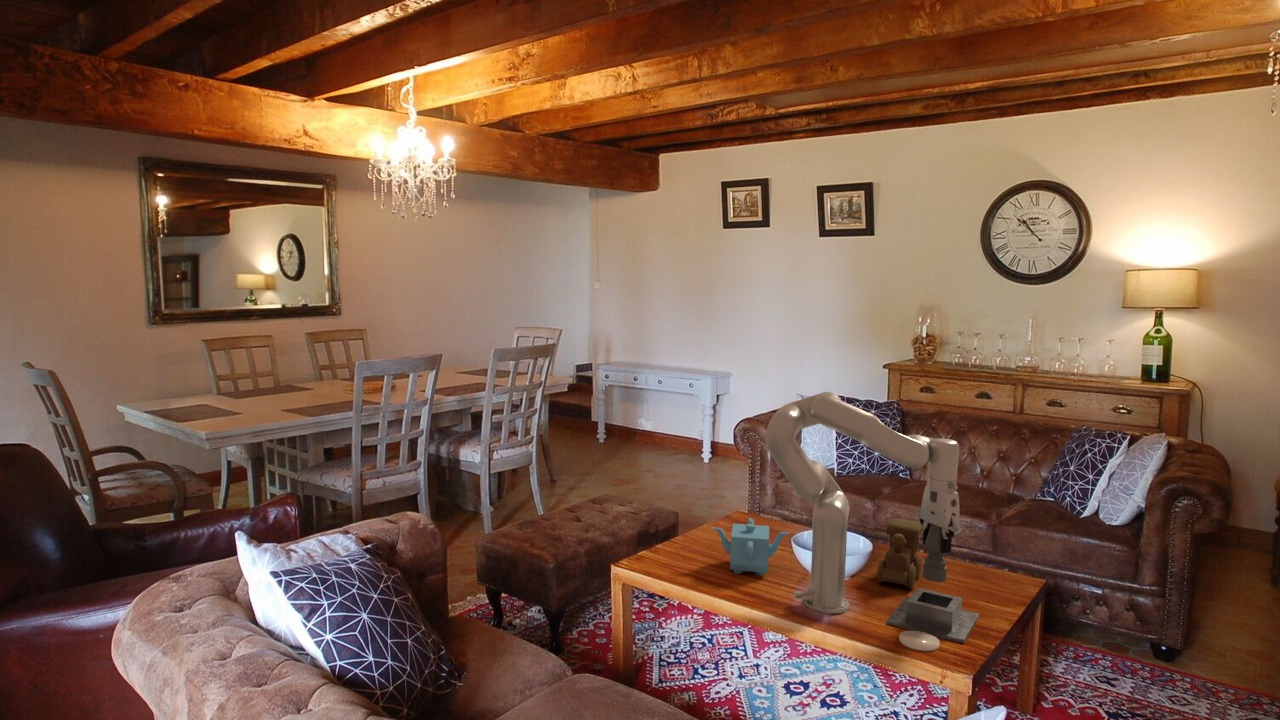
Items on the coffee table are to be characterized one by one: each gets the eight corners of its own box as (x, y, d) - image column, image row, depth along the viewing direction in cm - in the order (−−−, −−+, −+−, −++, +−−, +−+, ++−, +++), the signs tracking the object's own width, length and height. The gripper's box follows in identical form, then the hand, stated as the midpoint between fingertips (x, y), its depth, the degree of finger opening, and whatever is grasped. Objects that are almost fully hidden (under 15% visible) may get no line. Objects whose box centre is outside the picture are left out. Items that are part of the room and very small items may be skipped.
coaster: (910, 652, 200) (910, 649, 200) (892, 634, 209) (892, 631, 209) (947, 650, 201) (947, 647, 201) (927, 632, 211) (927, 629, 211)
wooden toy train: (887, 565, 260) (890, 516, 259) (923, 572, 255) (926, 522, 253) (874, 585, 243) (877, 533, 241) (912, 593, 237) (915, 540, 236)
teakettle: (748, 584, 242) (750, 537, 241) (708, 565, 257) (709, 521, 256) (790, 571, 254) (792, 527, 252) (749, 554, 268) (751, 512, 267)
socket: (964, 643, 205) (965, 621, 204) (886, 623, 216) (887, 602, 215) (978, 617, 221) (980, 596, 221) (906, 600, 232) (907, 580, 232)
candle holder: (920, 578, 216) (927, 490, 214) (924, 571, 222) (930, 485, 219) (944, 583, 213) (951, 493, 211) (947, 576, 219) (954, 488, 216)
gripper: (976, 491, 208) (971, 557, 210) (928, 475, 224) (924, 536, 226) (955, 493, 205) (949, 560, 207) (908, 477, 221) (903, 539, 223)
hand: (936, 547), depth 217 cm, fingers closed on candle holder, 5 cm apart
